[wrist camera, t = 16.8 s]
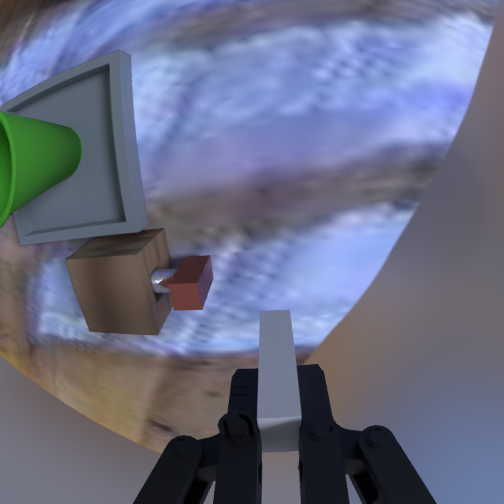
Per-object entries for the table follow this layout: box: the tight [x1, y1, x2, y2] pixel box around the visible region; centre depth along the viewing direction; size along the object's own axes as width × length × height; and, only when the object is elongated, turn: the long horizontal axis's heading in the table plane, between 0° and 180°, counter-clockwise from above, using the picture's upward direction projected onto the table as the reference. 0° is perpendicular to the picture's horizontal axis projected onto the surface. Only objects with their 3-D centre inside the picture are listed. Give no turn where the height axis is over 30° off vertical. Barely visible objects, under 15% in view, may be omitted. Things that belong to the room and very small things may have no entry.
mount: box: [65, 228, 173, 335], centre depth 24 cm, size 7×7×6 cm
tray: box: [1, 50, 148, 246], centre depth 22 cm, size 16×16×2 cm
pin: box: [150, 255, 213, 310], centre depth 23 cm, size 10×2×5 cm, turn 95°
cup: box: [0, 110, 82, 227], centre depth 17 cm, size 9×9×11 cm
